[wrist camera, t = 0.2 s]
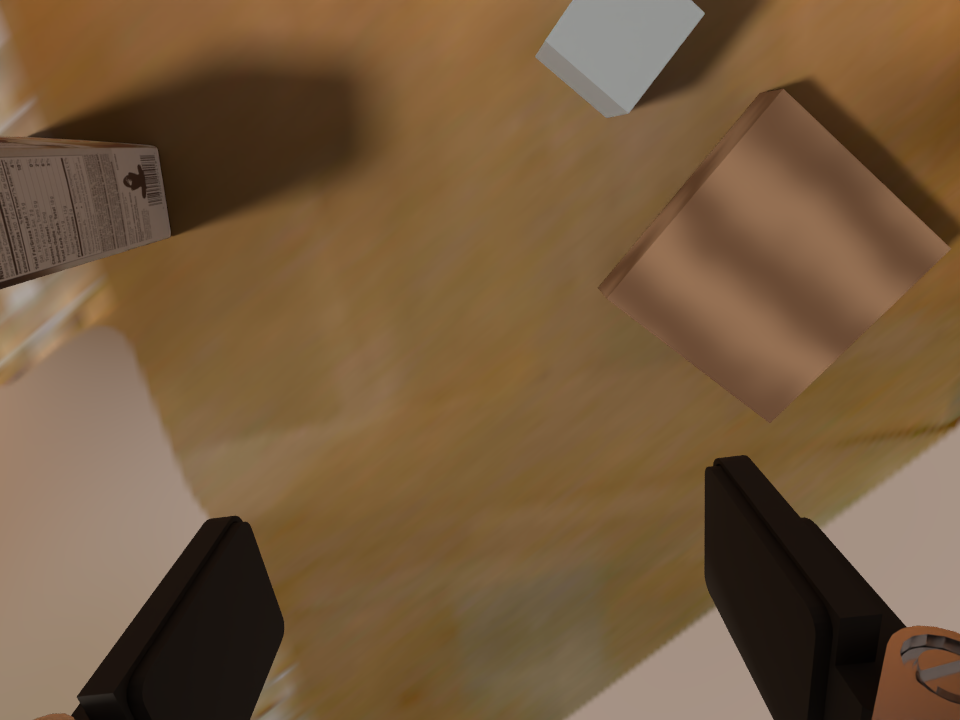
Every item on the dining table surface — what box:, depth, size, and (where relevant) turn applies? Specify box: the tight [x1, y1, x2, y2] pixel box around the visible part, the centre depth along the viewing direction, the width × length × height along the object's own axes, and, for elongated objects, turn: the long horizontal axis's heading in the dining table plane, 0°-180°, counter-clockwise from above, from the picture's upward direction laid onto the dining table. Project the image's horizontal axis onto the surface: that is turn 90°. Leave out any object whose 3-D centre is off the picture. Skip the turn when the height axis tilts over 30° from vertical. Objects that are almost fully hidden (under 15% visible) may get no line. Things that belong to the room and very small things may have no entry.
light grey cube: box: [535, 0, 705, 118], centre depth 32 cm, size 6×6×6 cm
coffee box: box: [0, 137, 171, 289], centre depth 31 cm, size 9×6×16 cm
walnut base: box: [598, 89, 951, 423], centre depth 39 cm, size 16×16×3 cm
